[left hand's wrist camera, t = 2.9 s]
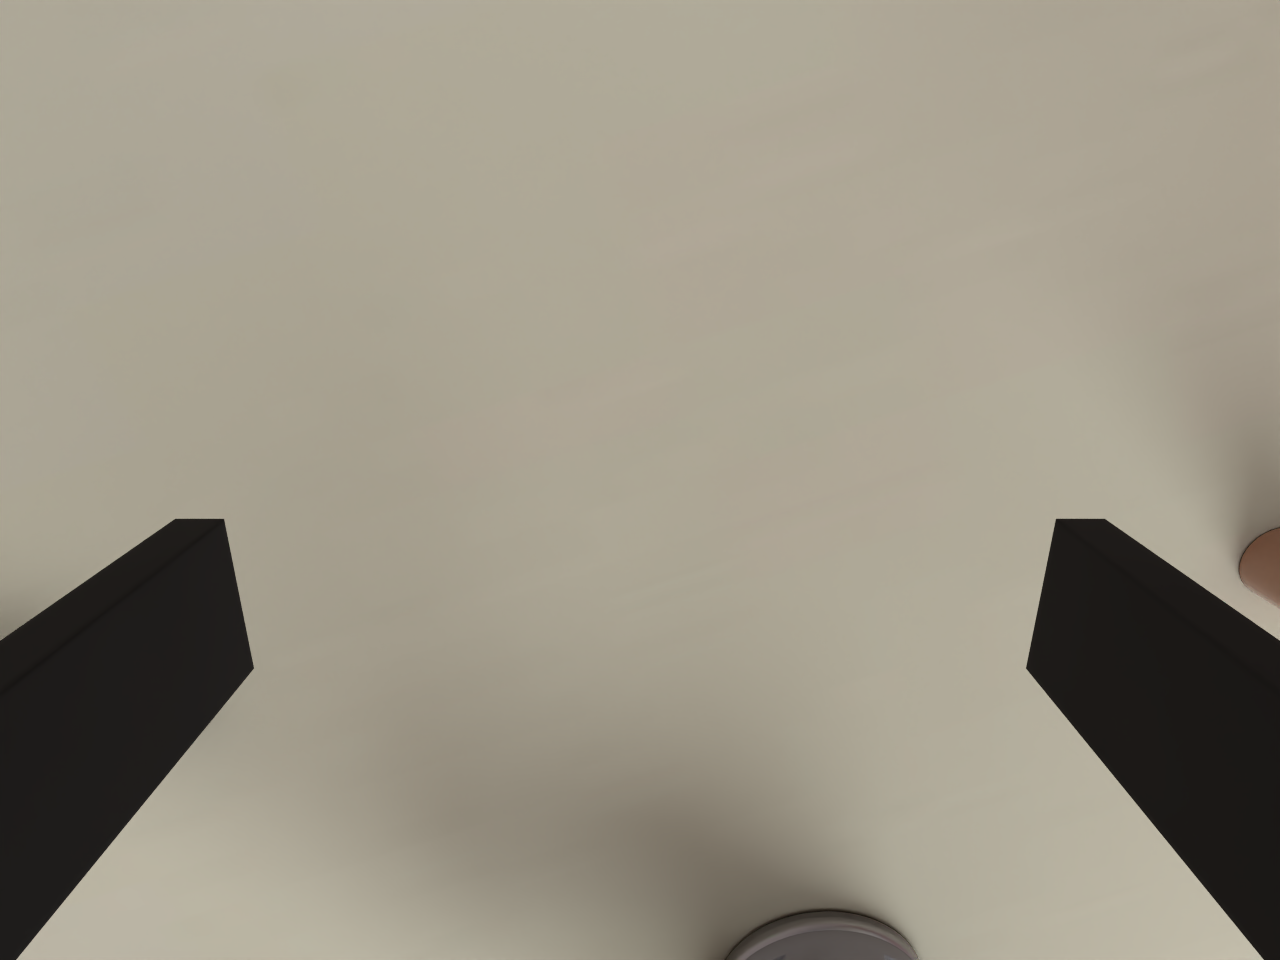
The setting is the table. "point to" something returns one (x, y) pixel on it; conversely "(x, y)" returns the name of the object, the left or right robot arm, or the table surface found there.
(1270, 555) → the bottle
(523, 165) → the table surface
